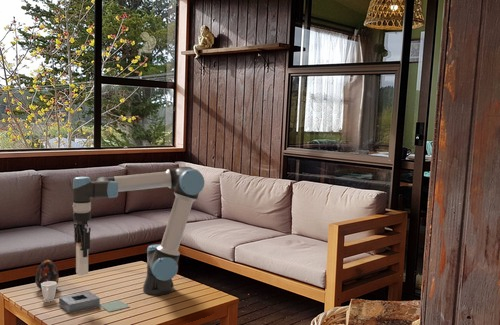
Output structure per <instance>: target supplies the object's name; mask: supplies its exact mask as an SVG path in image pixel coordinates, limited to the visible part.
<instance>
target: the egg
mask: <svg viewBox="0 0 500 325" xmlns="http://www.w3.org/2000/svg"><path fill="white" fill-rule="evenodd" d="M58 270H59V269H58V268H57V266H56V264H55V263H54V262H53V261H52V260H49V259H45V260H44V261H42V262H41V263H40V264H39V265H38V268H37V271H36V274H35V279H34V280H35V285H36V286H37V288H38V289H40V292H42V288H41V284H42V283H43V282H47V281H54V282H56V283H57V285H58V283H59V280H60V279H59V277H60V276H59V271H58Z"/></svg>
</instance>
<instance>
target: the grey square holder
mask: <svg viewBox="0 0 500 325" xmlns="http://www.w3.org/2000/svg"><path fill="white" fill-rule="evenodd" d="M100 303H101V298H100V297H99V296H97V295H96V294H95V293H93V292H91V291H90V290H88V291H87V290H85V291H83V292H82V291H81V292H77V293H72V294H67V295H62V296H59V298H58V305H59V307H60V306H61V307H60V308H62V310H64V311H65V312H67V313H68V314H74V313H79V312H83V311H87V310H92V309H96V308H100V307H101V306H100Z"/></svg>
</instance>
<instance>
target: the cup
mask: <svg viewBox="0 0 500 325" xmlns="http://www.w3.org/2000/svg"><path fill="white" fill-rule="evenodd" d="M57 285H58V284H57V283H56V282H54V281H47V282H43V283H42V284H41V288H42V291H41V293H42V296H43V301H44V302H45V303H50V301H51V302H53V301H55V299H54V298H55V296H56V291H57Z"/></svg>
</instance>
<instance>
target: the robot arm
mask: <svg viewBox="0 0 500 325" xmlns="http://www.w3.org/2000/svg"><path fill="white" fill-rule="evenodd" d="M204 178H205V177H204V175H203V174H202V173H201V171H199V169H195V168H193V167H192V166H191V167H190V166H179V167H176V168H168V169H166V171H158V172H150V173H149V172H146V173H136V174H128V175H118V176H117V175H115V176H109V177H108V176H107V177H106V176H100V177H98V178H97V179H96V180H95V181H92V179H91V178H90V177H89V176H76V177H74V178H73V180H72V205H71V206H72V211H73V212H72V219H73V221H74V223H73V228H74V229H73V231H74V233H73V234H74V236H73V237H74V245H75V246H76V243H79V242H81V243H82V249H80V250H81V264H87V263H88V264H89V250H90V249H91V231H92V230H91V227H89V224H88V221H91V218H92V215H91V214H92V212H91V210H92V201H91V199H105V198H106V199H108V198H109V199H112V198H113V199H114V198H117V197H118V196H119V192H129V191H139V190H148V189H157V188H159V189H160V188H169V189H174V191H173V194H174V196H175V198H174V200H173V204H172V208H171V211H170V214H169V217H168V219H167V220H168V221H167V223H166V227H165V230H164V233H163V235H162V240H161V243H159V244H151V245H148V246H147V249H146V255H147V256H146V258H147V259H146V261H147V262H146V276H145V279H144V284H143V286H142V290H143V291H142V292H144V293H145V294H147V295H153V296H163V295H168V294H170V293H173V291H174V288H175V286H174V281H173V278H174V277H175V276H176V275H177V273H178V270H179V265H178V261H179V259H180V255H181V253H180V251H179V248H180V244H181V241H182V238H183V235H184V232H185V229H186V226H187V222H188V219H189V216H190V213H191V209H192V206H193V203H194V202H195V201H198V199H199V194H200V193H201V192H202V191H203V189H204V187H205V179H204ZM75 222H76V223H75Z"/></svg>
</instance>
